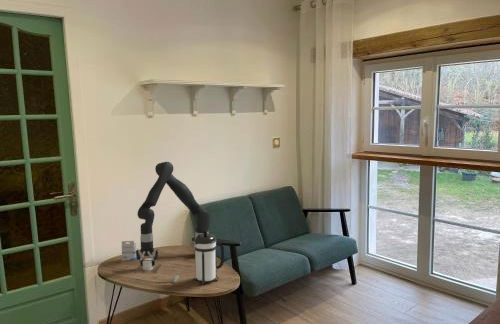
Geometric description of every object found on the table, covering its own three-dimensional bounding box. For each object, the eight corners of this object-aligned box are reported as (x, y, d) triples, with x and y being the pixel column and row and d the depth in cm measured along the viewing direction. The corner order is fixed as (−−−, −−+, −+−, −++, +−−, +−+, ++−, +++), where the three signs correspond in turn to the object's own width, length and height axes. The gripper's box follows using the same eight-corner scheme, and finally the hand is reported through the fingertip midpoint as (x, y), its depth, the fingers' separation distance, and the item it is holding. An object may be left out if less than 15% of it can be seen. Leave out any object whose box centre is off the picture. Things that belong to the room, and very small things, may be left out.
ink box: (136, 259, 254) (135, 238, 252) (135, 262, 249) (134, 240, 247) (123, 259, 253) (122, 238, 252) (122, 262, 248) (121, 241, 247)
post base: (161, 266, 241) (161, 258, 241) (156, 275, 227) (156, 266, 227) (140, 266, 241) (139, 258, 240) (133, 275, 227) (133, 266, 227)
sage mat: (178, 275, 226) (178, 275, 226) (175, 283, 216) (175, 282, 216) (159, 276, 226) (159, 275, 226) (155, 283, 216) (155, 282, 216)
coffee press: (216, 286, 211) (215, 235, 208) (189, 284, 215) (188, 233, 211) (224, 274, 228) (223, 226, 225) (199, 272, 231) (198, 225, 228)
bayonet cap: (153, 266, 237) (153, 258, 236) (151, 270, 231) (151, 261, 230) (144, 266, 237) (144, 258, 236) (141, 270, 231) (141, 261, 230)
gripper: (159, 237, 236) (160, 263, 238) (137, 238, 236) (138, 263, 238) (156, 241, 228) (157, 268, 230) (133, 241, 228) (134, 268, 230)
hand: (147, 265), depth 234 cm, fingers closed on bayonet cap, 6 cm apart
